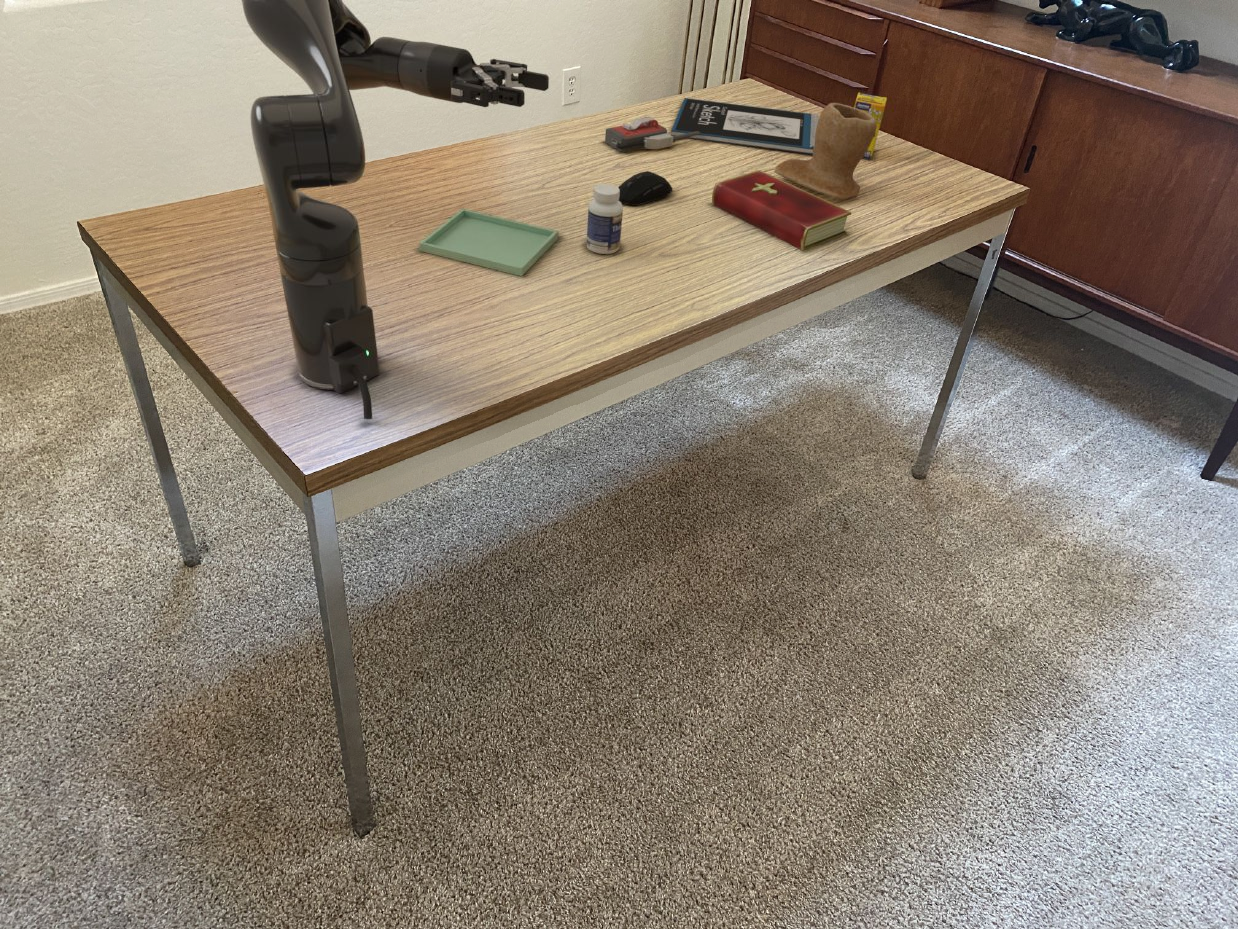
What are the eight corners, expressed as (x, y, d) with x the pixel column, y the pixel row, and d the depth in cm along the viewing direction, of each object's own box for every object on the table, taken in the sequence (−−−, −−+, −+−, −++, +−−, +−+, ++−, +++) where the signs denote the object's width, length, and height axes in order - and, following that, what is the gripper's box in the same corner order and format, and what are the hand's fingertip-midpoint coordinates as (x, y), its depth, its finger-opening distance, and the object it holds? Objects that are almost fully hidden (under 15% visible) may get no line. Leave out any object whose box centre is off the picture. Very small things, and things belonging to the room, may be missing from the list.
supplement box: (841, 155, 183) (854, 100, 176) (844, 145, 188) (857, 91, 181) (871, 160, 182) (885, 105, 175) (873, 150, 187) (887, 96, 180)
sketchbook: (683, 103, 201) (684, 94, 199) (817, 122, 198) (819, 112, 197) (670, 136, 184) (671, 125, 183) (816, 156, 182) (819, 146, 180)
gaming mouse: (594, 200, 157) (595, 178, 154) (654, 182, 165) (656, 161, 163) (618, 213, 154) (619, 191, 151) (678, 194, 162) (681, 172, 159)
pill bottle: (615, 257, 141) (620, 198, 135) (582, 252, 142) (585, 192, 136) (622, 242, 145) (627, 184, 139) (590, 237, 146) (593, 179, 140)
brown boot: (872, 193, 169) (894, 112, 159) (835, 208, 162) (856, 125, 153) (808, 167, 177) (825, 88, 167) (770, 180, 170) (786, 99, 160)
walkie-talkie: (624, 158, 173) (701, 141, 183) (626, 135, 170) (704, 119, 180) (597, 143, 178) (674, 127, 188) (599, 120, 175) (676, 106, 185)
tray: (558, 238, 145) (558, 230, 144) (521, 276, 134) (521, 268, 133) (462, 215, 148) (462, 208, 148) (419, 250, 138) (419, 242, 137)
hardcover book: (801, 251, 148) (807, 227, 145) (710, 205, 159) (714, 182, 157) (846, 233, 154) (851, 210, 152) (755, 190, 166) (759, 168, 163)
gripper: (410, 56, 127) (515, 76, 123) (458, 34, 137) (556, 51, 134) (414, 110, 131) (515, 131, 128) (460, 84, 142) (554, 103, 138)
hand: (536, 90), depth 131 cm, fingers open, 8 cm apart
